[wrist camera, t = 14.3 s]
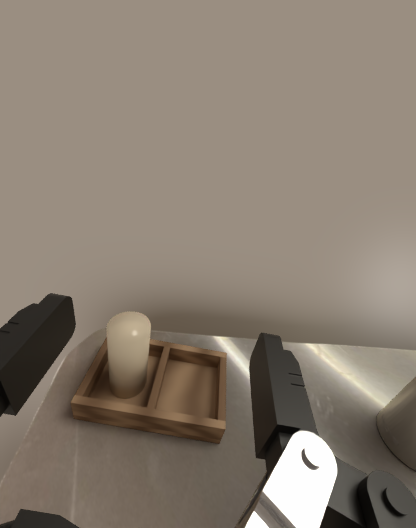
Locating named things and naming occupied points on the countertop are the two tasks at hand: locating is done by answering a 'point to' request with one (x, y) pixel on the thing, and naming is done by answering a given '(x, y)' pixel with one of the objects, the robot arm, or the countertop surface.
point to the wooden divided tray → (161, 394)
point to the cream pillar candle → (128, 353)
